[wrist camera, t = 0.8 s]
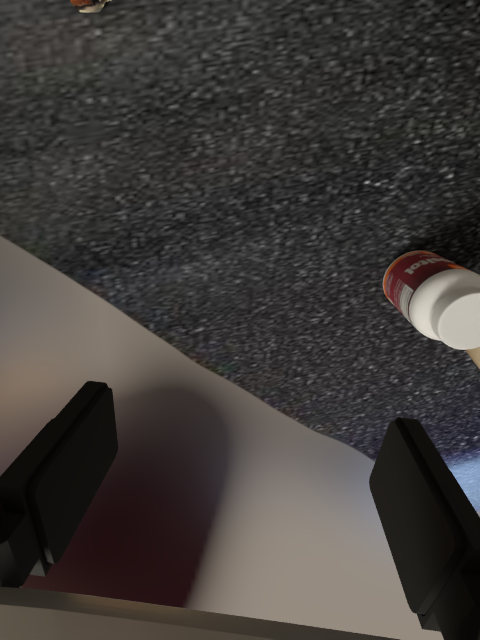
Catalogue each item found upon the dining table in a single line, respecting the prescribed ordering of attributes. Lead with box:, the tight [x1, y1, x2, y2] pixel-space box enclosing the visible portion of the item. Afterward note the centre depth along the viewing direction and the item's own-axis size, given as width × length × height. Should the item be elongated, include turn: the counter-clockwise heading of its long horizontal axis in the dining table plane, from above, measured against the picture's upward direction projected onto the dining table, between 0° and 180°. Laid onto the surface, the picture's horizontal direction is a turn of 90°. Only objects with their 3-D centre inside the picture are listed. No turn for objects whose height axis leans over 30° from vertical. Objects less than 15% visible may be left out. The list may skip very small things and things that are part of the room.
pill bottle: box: [383, 250, 480, 350], centre depth 28 cm, size 6×6×11 cm
